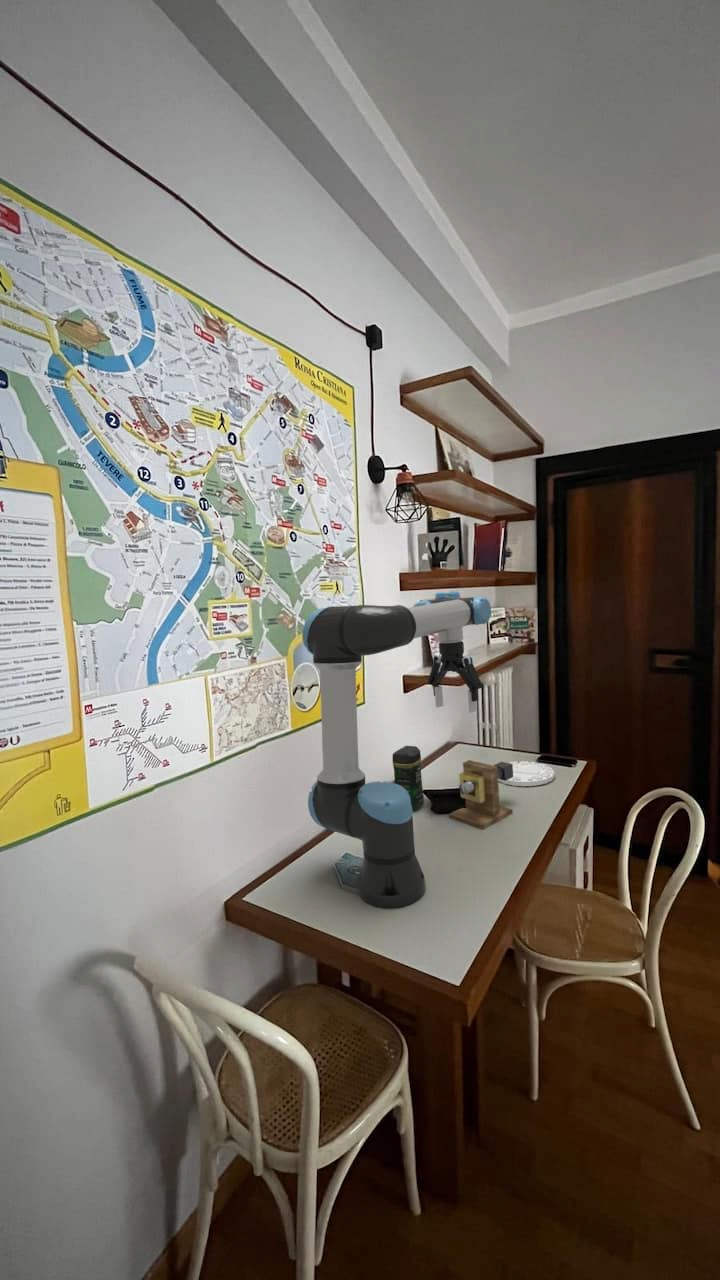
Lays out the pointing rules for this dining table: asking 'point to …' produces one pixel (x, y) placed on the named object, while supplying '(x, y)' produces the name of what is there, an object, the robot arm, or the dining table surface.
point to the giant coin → (529, 774)
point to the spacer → (479, 786)
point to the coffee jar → (409, 773)
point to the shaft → (503, 773)
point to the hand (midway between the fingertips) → (455, 709)
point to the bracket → (489, 809)
